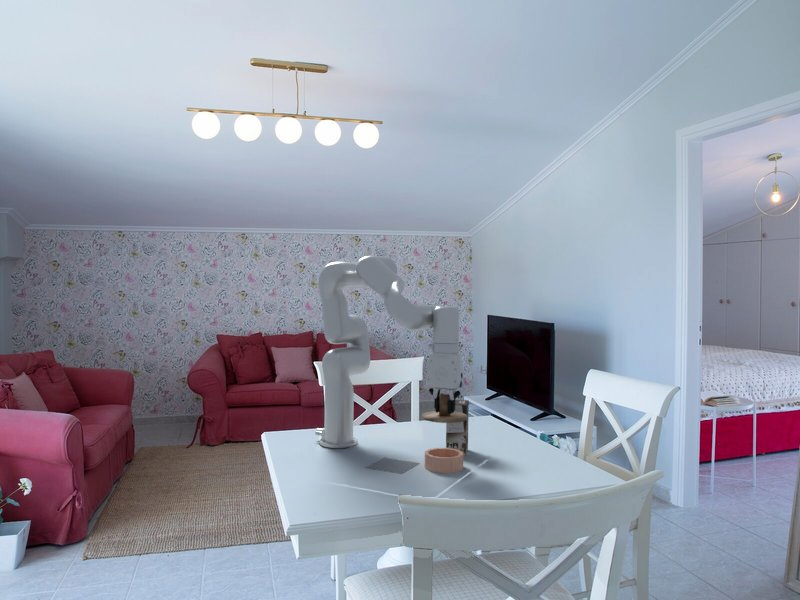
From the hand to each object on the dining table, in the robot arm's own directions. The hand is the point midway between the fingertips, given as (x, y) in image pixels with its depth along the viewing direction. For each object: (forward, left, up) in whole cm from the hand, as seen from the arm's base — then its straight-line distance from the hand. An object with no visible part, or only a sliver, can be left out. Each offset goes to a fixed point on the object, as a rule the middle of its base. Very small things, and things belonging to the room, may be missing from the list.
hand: (444, 411), depth 181 cm
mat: (-14, -6, -17) cm, 22 cm away
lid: (0, 0, -2) cm, 2 cm away
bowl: (0, 0, -17) cm, 17 cm away
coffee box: (-3, +18, -17) cm, 25 cm away
